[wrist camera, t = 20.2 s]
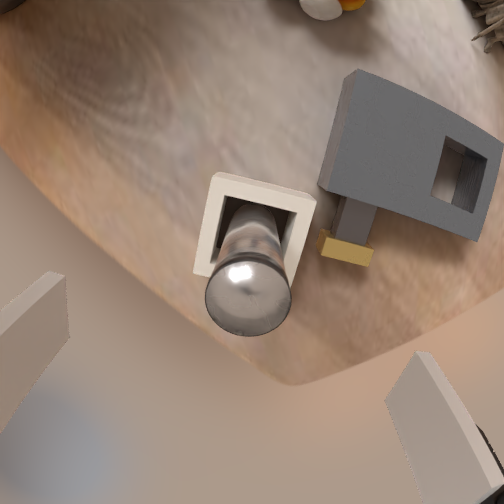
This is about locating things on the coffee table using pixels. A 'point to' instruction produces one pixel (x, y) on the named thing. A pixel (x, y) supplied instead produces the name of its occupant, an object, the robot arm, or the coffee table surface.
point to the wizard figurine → (491, 20)
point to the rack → (258, 192)
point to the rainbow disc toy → (329, 7)
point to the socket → (408, 155)
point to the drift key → (349, 233)
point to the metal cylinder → (249, 276)
